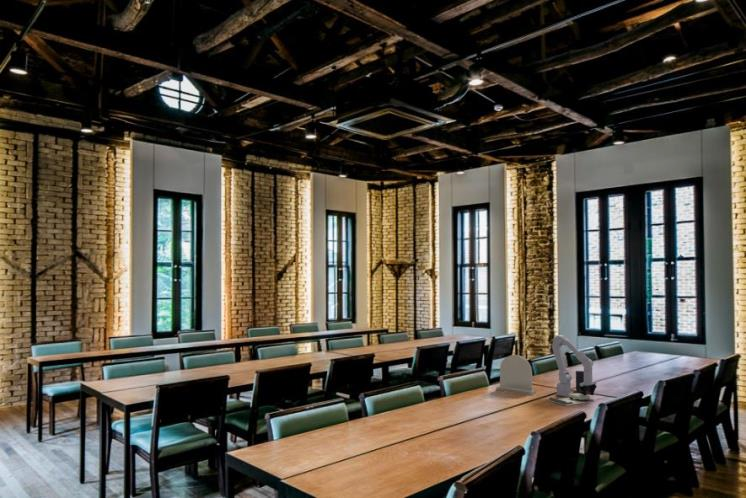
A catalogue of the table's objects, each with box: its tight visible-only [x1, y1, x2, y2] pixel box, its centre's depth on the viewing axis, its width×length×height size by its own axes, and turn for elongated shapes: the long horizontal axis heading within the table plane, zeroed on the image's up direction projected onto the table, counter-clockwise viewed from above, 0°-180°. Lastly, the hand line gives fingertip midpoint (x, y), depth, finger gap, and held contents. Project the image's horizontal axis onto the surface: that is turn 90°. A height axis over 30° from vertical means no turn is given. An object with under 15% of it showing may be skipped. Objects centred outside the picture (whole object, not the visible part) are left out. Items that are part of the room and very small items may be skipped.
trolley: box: [567, 392, 591, 402], centre depth 365 cm, size 10×10×4 cm
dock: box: [547, 396, 588, 407], centre depth 360 cm, size 16×20×3 cm
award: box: [495, 354, 537, 396], centre depth 392 cm, size 28×9×28 cm, turn 54°
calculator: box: [575, 370, 590, 393], centre depth 396 cm, size 11×4×15 cm, turn 84°
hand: (588, 395), depth 370 cm, fingers open, 7 cm apart
